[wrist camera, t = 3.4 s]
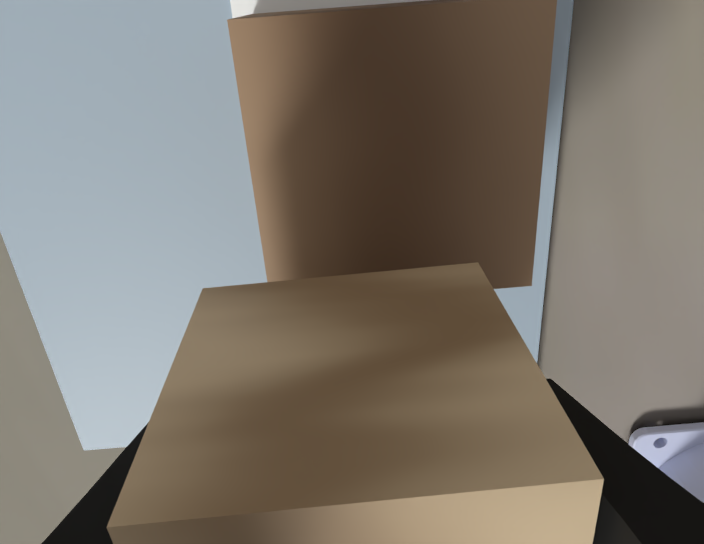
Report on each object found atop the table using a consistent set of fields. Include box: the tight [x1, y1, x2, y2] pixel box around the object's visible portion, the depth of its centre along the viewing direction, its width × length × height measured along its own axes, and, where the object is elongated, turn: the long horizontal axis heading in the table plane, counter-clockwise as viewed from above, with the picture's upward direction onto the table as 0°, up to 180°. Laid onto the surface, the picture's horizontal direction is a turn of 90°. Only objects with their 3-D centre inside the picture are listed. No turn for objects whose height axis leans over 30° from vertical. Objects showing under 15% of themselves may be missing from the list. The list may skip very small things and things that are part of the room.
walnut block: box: [227, 0, 557, 289], centre depth 13 cm, size 6×6×4 cm
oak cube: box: [107, 262, 604, 544], centre depth 9 cm, size 5×5×5 cm
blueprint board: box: [0, 0, 574, 450], centre depth 17 cm, size 16×15×1 cm
